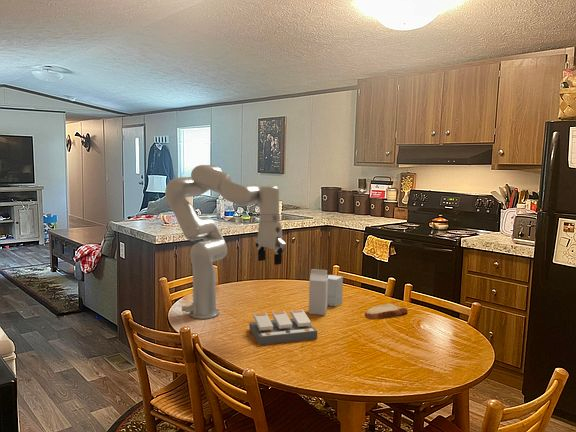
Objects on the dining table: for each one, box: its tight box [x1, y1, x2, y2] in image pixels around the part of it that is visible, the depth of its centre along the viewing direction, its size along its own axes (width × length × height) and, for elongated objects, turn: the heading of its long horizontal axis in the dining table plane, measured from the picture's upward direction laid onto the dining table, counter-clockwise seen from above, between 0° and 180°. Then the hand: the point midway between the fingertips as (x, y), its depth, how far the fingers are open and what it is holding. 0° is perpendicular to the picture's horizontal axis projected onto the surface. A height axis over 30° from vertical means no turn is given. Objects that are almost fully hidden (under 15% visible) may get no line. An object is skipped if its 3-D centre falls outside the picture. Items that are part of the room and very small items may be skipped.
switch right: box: [289, 308, 312, 327], centre depth 188 cm, size 5×10×2 cm, turn 18°
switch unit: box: [248, 317, 318, 346], centre depth 185 cm, size 22×16×4 cm
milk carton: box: [308, 268, 329, 316], centre depth 211 cm, size 7×7×19 cm
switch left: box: [253, 311, 273, 331], centre depth 183 cm, size 5×10×2 cm, turn 18°
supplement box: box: [327, 274, 344, 307], centre depth 225 cm, size 7×7×13 cm
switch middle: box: [271, 310, 292, 329], centre depth 186 cm, size 5×10×2 cm, turn 18°
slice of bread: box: [364, 302, 408, 320], centre depth 212 cm, size 18×18×4 cm
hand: (269, 262), depth 188 cm, fingers open, 9 cm apart
